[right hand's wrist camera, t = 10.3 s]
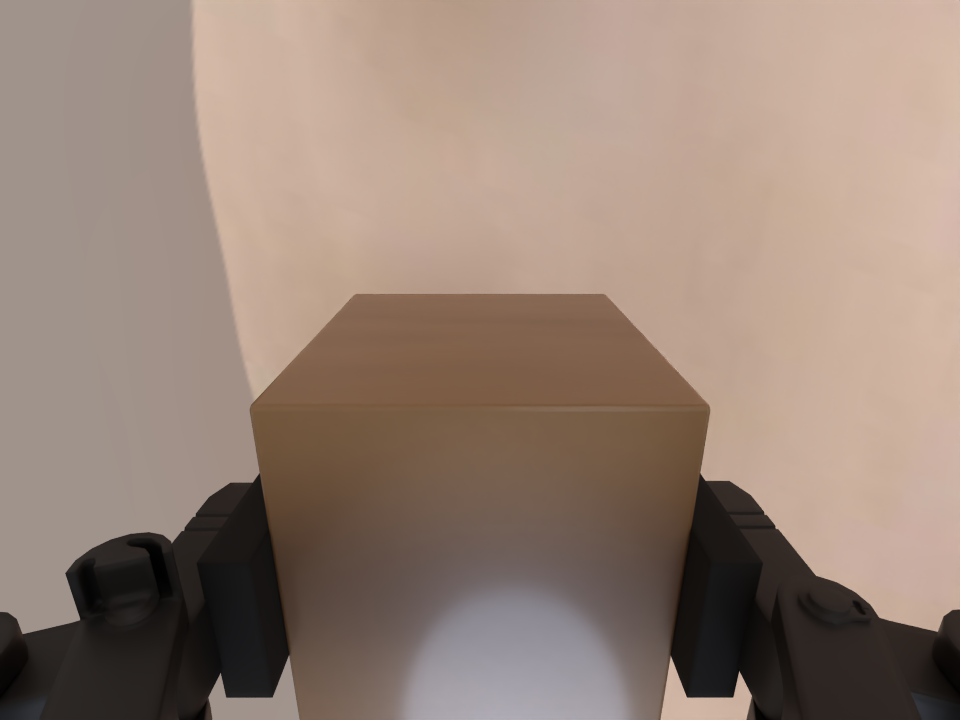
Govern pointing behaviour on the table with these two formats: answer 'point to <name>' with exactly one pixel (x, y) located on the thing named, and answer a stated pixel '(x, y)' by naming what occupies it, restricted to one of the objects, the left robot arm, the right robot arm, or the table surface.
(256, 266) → the table surface
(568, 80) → the table surface
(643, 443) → the brown cube
